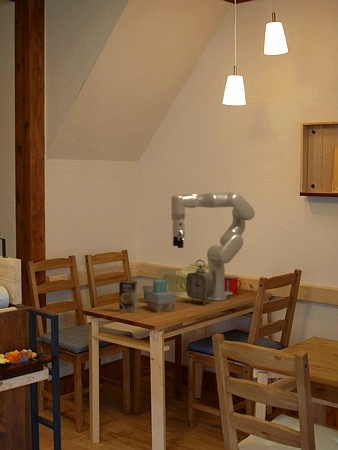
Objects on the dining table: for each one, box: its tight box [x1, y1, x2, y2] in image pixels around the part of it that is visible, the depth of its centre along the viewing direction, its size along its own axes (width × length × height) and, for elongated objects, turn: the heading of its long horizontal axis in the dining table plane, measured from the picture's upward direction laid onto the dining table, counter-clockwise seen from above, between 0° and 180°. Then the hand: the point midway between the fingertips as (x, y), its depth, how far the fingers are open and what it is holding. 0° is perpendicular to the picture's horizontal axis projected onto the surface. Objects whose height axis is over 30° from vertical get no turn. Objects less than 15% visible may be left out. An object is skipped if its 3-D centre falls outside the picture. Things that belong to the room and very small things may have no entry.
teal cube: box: [152, 279, 168, 293], centre depth 363 cm, size 6×6×6 cm
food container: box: [141, 284, 153, 304], centre depth 381 cm, size 12×6×10 cm, turn 112°
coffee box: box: [118, 280, 138, 313], centre depth 358 cm, size 9×6×16 cm
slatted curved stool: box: [156, 262, 209, 299], centre depth 404 cm, size 30×16×18 cm, turn 136°
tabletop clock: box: [185, 259, 214, 306], centre depth 378 cm, size 14×9×25 cm, turn 45°
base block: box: [146, 300, 175, 314], centre depth 363 cm, size 10×16×5 cm, turn 20°
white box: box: [146, 290, 176, 304], centre depth 363 cm, size 10×16×5 cm, turn 26°
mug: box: [225, 275, 242, 296], centre depth 405 cm, size 12×8×11 cm
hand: (178, 246), depth 378 cm, fingers open, 9 cm apart
